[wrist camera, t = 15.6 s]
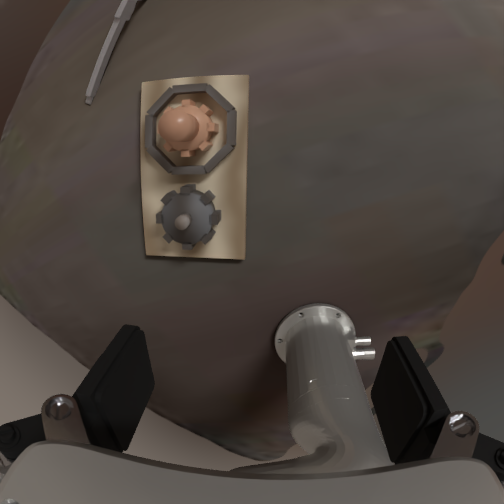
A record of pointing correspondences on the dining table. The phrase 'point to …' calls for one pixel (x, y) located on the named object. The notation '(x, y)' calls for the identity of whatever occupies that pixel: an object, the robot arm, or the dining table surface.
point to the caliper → (109, 46)
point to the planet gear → (187, 128)
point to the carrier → (196, 171)
